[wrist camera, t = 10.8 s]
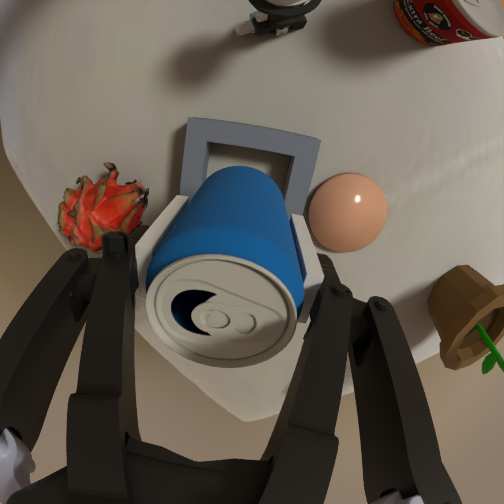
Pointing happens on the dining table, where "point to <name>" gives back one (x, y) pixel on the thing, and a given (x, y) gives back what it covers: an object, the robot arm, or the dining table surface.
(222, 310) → the beverage can
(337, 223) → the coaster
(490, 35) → the canned food
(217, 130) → the grey square frame
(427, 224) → the dining table surface
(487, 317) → the flowerpot
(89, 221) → the dragon fruit
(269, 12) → the push button
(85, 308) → the robot arm
